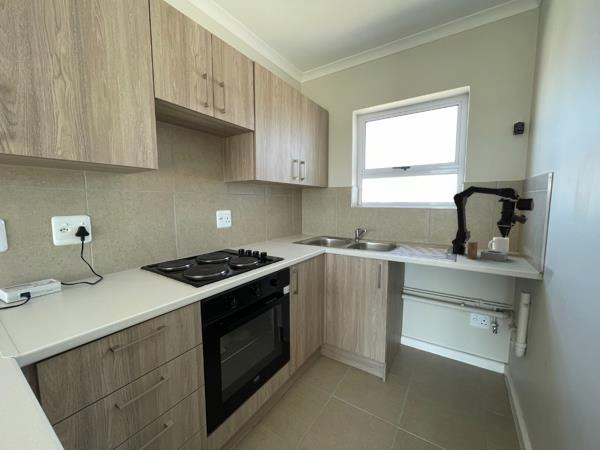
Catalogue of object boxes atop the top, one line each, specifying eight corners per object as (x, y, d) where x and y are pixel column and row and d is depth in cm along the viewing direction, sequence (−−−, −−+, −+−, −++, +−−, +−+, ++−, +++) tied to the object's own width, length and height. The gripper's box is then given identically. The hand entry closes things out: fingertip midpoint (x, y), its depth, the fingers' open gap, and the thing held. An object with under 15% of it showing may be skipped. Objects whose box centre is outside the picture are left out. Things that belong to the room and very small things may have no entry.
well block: (480, 258, 148) (480, 251, 147) (485, 255, 155) (485, 249, 155) (503, 261, 139) (504, 254, 139) (507, 258, 147) (508, 252, 146)
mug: (492, 254, 157) (493, 239, 156) (483, 252, 165) (484, 237, 164) (511, 254, 157) (512, 238, 156) (501, 252, 165) (502, 237, 164)
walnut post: (466, 258, 148) (467, 242, 147) (468, 257, 151) (469, 241, 150) (474, 259, 145) (475, 242, 144) (476, 258, 148) (477, 242, 147)
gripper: (524, 211, 127) (521, 240, 129) (529, 210, 140) (526, 237, 142) (497, 210, 136) (495, 238, 138) (504, 209, 148) (501, 234, 150)
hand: (505, 237), depth 141 cm, fingers open, 9 cm apart
